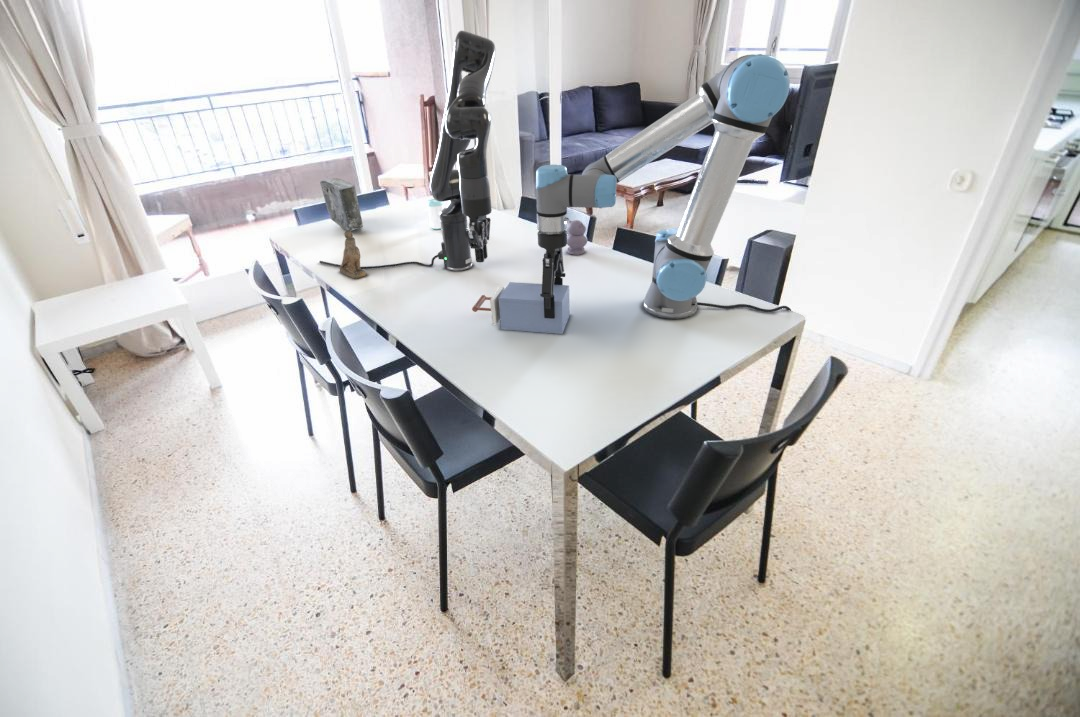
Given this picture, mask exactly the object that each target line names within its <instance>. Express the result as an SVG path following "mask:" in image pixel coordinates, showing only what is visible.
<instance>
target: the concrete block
mask: <svg viewBox="0 0 1080 717" xmlns="http://www.w3.org/2000/svg"><path fill="white" fill-rule="evenodd" d="M319 183H320V187H321V191H322V195H323V198H324V199H323V200H324V202H325V206H326V209H327V212H328V216H329V218H330V220H332V221H333V222H334V223H336V224H337V225H338V226H339V227H341V228H342V229H343V230H345V231H348V230H350V231H352V232H353V231H354V230H358V229H361V228H363V227H364V224H363V218H362V214H361V210H360V205H359V204H360V203H359V200H358V195H357V194H358V193H357V189H356V186H355V185H354V184H353V183H351V182H350V181H347V180H345V179H341V178H336V177H332V178H327V179H322V180H320V182H319Z"/></svg>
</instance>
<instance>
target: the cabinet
mask: <svg viewBox="0 0 1080 717" xmlns="http://www.w3.org/2000/svg"><path fill="white" fill-rule="evenodd" d="M504 289H505V290H504V291H503V293H502V294H501V295H500V297H499V308H500V320H499V321H500V329H501V330H503V331H505V330H506V331H517V332H529V333H532V332H533V333H543V334H557V335H563V334H564V332H565V329H566V326H567V323H568V321H569V318H570V285H568V284H563V285H554V291H553V295H554V305H555V318H554V319H550V318H544V297H542V296H540V294H542V283H531V282H516V281H515V282H513V281H510V282H509V283H508V284H507V285H506V287H504Z"/></svg>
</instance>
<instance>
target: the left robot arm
mask: <svg viewBox="0 0 1080 717" xmlns="http://www.w3.org/2000/svg"><path fill="white" fill-rule="evenodd" d="M495 59H496V45H495V42H494V41H493V40H492V39H489V38H488V37H484V36H481V35H478V34H476V33H472V32H469V31H466V30H459V31H458V32H457V33H456V36H455V38H454V43H453V49H452V55H451V64H450V65H451V66H450V74H449V84H448V90H447V97H446V101H445V105H444V106H445V107H444V110H443V111H444V112H443V116H442V123H441V128H440V137H439V143H438V148H437V152H436V157H435V161H434V164H433V168H432V171H431V175H430V180H429V189H430V194H431V196H432V199H435V200H436V201H439V202H443V203H444V202H448V203H447V205H446V206H444V209H443V210H442V211H441V212H440V223H441V229H440V230H441V235H442V242H441V243H440V246H441V250H440V251H439V252H437V254H436V255H434V256H433V257H432V258H431V261H430V262H431V263H430V264H424V263H422V262H419V261H405V262H398V263H391V264H390V263H389V264H384V265H371V266H368V265H367V266H360V268H361V269H362V270H370V269H382V268H383V269H384V268H391V267H399V266H404V265H405V266H406V265H412V264H413V265H419V266H423V267H427V268H428V267H430V268H431V267H433V265H434V262H435V260H436V259H438V260H442V261H443V267H444V269H445V270H449V271H454V272H459V271H467V270H469V269H471V268H472V266H473V258H472V250H473V249H474V257H475V261H476V263H484V262H485V260H486V259H488V246H487V245H488V244H489V242H488V241H490V236H491V235H490V231H491V218H490V217H487V216H488V215H490V214H491V213H492V210H493V209H492V200H491V199H492V198H491V187H490V180H489V176H488V174H489V173H488V165H487V164H488V163H487V162H488V161H487V149H488V141H489V136H490V131H491V124H492V120H491V115H490V113H489V111H488V110H487V108H485V107H486V98H487V97H486V95H487V91H488V87H489V84H490V80H491V77H492V74H493V68H494V65H495ZM463 72H465V73H468V74H466V75H465V76H463ZM473 140H476V144H475V146H473V147H471V148H468V147H469V145H470V143H471V141H473ZM456 163H457V167H458V168H457V169H454V167H455V165H456ZM471 249H472V250H471ZM318 263H320V264H323V265H327V266H332V267H337V268H340V266H341V264H337V263H332V262H327V261H323V260H319V262H318Z"/></svg>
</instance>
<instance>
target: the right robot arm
mask: <svg viewBox="0 0 1080 717" xmlns="http://www.w3.org/2000/svg"><path fill="white" fill-rule="evenodd" d="M790 82H791V81H790V75H789V73H788V70H787V68H786V66H785V65H784V64H783V63H782V62H781V61H780V60H779V59H778V58H777V57H774V56H771V55H769V54H762V53H758V54H757V53H756V54H745V55H742V56H739V57H738V58H736V59H734V60H733V61H731V62H730V63H728V64H727V65H726V66H725V67H724V68H722V69H721V70H720V71H719V72H717V73H716V74H715V75H714V76H712V77H711V78H710V79H708V80H707V81H706V82H704V83H702V85H700V86H699V88H698V92H697V93H696V94H694V95H693V96H692V97H690V98H689V99H687V100H686V101H684V102H683V103H681V104H680V105H678V106H676V107H675V108H674V109H672V110H671V111H669V112H668V113H667V114H665V115H664V116H662V117H661V118H659V119H657V120H656V121H654V122H653V123H651V124H649V125H648V126H647V127H646V128H644V129H643V130H641V131H639V132H637V134H635V135H634V136H632V137H631V138H629V139H628V140H626V141H625V142H623V143H622V144H620V145H619V146H617V147H616V148H614V149H613V150H611V151H610V152H608V153H607V154H605V155H604V156H603V157H601V158H599V159H598V160H596V161H592V162H591V163H589V164H588V165H587V166H586V167H584V169H583V170H582V173H581V174H570V173H569V172H568V169H567V167H566V166H565V165H562V164H544V165H541V166H539V167H537V169H536V171H535V198H536V230H537V245H538V247H539V248H541V249H544V250H545V253H544V254H543V257H542V276H541V277H542V278H541V284H542V294H540V296H542V297H544V318H550V319H554V318H555V305H554V295H553V291H554V285H564V282H563V280H564V278H566V273H565V267H564V257H563V256H564V255H563V248H565V247H566V246H568V245H567V235H568V230H567V227H568V221H569V220H570V218H569V217H567V215H568V208H590V209H591V208H593V209H605V208H613V207H614V206H615V205H616V203H617V202H616V200H617V184H619V183H620V182H622V181H623V180H625V179H626V178H627V177H629V176H631V175H632V174H634V173H635V172H638V171H639V170H640V169H642V168H644V167H645V166H647V165H648V164H650V163H651V162H653V161H654V160H656V159H658V158H660V157H661V156H662V155H664V154H666V153H667V152H669V151H670V150H672V149H674V148H675V147H676V146H678V145H680V144H682V143H683V142H685V141H686V140H687V139H689V138H691V137H693V136H694V135H695V134H697V133H699V132H700V131H702V130H704V129H705V128H707V127H708V126H710V125H712V124H713V126H714V132H713V136H712V138H711V140H710V143H709V146H708V149H707V151H706V154H705V156H704V160H703V162H702V164H701V167H700V170H699V173H698V175H697V178H696V180H695V183H694V186H693V189H692V190H691V193H690V196H689V199H688V201H687V205H686V206H685V210H684V211H683V215H682V218H681V220H680V222H679V226H678V227H677V228H666V229H660V230H659V231H658V232H656V235H655V240H654V254H653V264H652V276H651V277H652V278H651V283H650V285H649V287H648V290H647V292H646V294H645V297H644V299H643V304H642V305H643V309H644V310H645V312H647V313H648V314H650V315H651V316H655V317H658V318H661V319H668V320H679V319H684V318H685V319H686V318H689V317H692V316H694V315H695V313H696V312H697V309H698V306H702V307H703V306H704V307H710V308H717V309H735V308H748V309H753V310H755V311H759V312H763V313H774V312H777V311H780V310H783V309H784V310H787V311H788V310H790V311H789V312H792V309H791V308H790V307H789V306H787V305H780V306H777V307H775V308H762V307H759V306H755V305H752V304H747V303H738V304H732V305H721V304H715V303H709V302H708V303H707V302H700V301H699V302H698V298H697V296H698V295H700V294H701V293H702V291H703V290H704V289H705V288H706V287H705V286H706V284H707V279H708V277H707V271H708V268H709V265H710V263H711V260H712V258H713V256H714V253H715V250H714V249H713V247H712V242H713V240H714V237H715V234H716V232H717V230H718V228H719V225H720V223H721V220H722V218H723V216H724V213H725V211H726V208H727V207H728V204H729V201H730V199H731V196H732V194H733V191H734V189H735V188H736V185H737V182H738V180H739V178H740V175H741V173H742V171H743V168H744V166H745V163H746V161H747V158H748V156H749V154H750V152H751V150H752V147H753V144H754V142H755V141H756V140H758V139H759V138H761V137H763V136H764V135H765V134H766V132H767V131H768V128H769V126H770V123H771V121H772V119H773V117H774V116H775V115H777V113H778V112H779V111H780V110H781V109H782V108H783V106H784V104H785V103H786V100H788V96H789V93H790V86H791V83H790ZM568 173H569V174H568ZM782 308H783V309H782Z"/></svg>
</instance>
